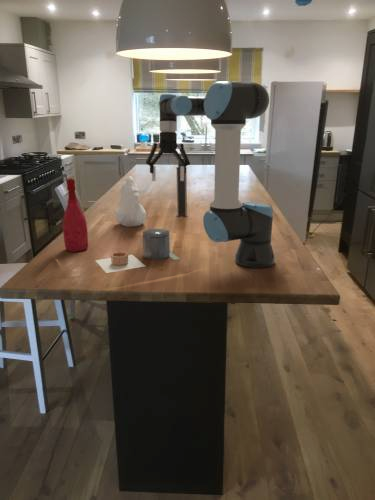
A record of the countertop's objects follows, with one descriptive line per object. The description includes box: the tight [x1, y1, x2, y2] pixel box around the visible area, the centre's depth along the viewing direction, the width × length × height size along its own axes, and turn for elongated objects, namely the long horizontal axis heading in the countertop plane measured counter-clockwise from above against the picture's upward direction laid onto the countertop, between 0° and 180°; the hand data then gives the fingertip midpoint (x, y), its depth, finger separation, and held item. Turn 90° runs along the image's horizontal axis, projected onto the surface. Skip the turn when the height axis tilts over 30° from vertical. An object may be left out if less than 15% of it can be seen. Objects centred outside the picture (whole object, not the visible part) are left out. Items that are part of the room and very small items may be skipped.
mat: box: [169, 251, 181, 261], centre depth 163 cm, size 14×14×1 cm
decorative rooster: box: [115, 175, 147, 227], centre depth 204 cm, size 25×16×25 cm, turn 7°
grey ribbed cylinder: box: [142, 228, 171, 261], centre depth 161 cm, size 10×10×10 cm
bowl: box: [110, 251, 129, 266], centre depth 153 cm, size 6×6×4 cm
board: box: [94, 254, 146, 274], centre depth 154 cm, size 15×15×1 cm
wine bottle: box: [62, 178, 89, 253], centre depth 169 cm, size 10×10×30 cm
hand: (168, 181), depth 182 cm, fingers open, 13 cm apart
